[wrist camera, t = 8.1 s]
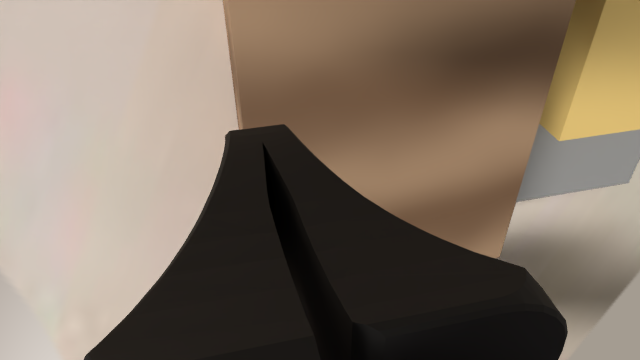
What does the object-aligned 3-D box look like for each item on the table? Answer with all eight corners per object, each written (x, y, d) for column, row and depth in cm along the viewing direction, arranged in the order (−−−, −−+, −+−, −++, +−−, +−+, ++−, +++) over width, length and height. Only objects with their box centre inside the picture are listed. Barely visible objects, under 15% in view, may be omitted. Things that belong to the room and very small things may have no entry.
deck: (463, 206, 29) (499, 257, 26) (252, 242, 27) (263, 301, 24) (565, -260, 16) (656, -272, 13) (190, -262, 14) (195, -278, 11)
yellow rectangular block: (558, 141, 24) (535, 120, 26) (666, 125, 25) (638, 105, 27) (627, -65, 19) (592, -76, 20) (761, -74, 20) (718, -84, 21)
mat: (624, 180, 31) (628, 183, 30) (472, 205, 29) (474, 209, 29) (823, -258, 18) (831, -259, 18) (579, -260, 17) (585, -261, 16)
